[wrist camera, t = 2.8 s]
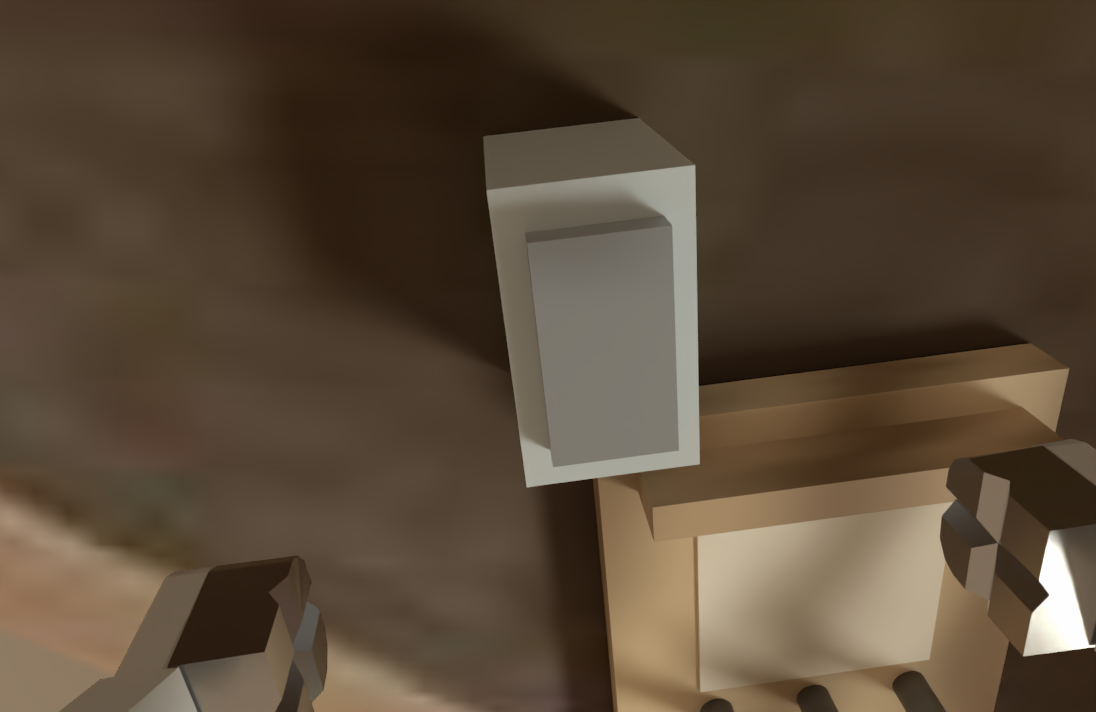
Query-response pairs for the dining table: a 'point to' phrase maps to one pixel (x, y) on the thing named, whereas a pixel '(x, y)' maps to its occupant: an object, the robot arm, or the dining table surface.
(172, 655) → the robot arm
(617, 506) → the board
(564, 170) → the plug
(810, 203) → the dining table surface
